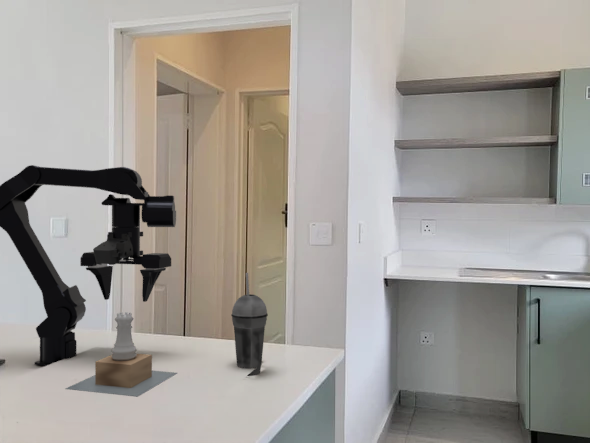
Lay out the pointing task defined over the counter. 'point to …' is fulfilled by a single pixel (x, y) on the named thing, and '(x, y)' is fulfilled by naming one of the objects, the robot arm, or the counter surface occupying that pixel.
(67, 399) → the counter surface
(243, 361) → the beverage cup
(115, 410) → the counter surface
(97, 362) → the base brick
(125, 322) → the rook chess piece
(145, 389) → the build plate
